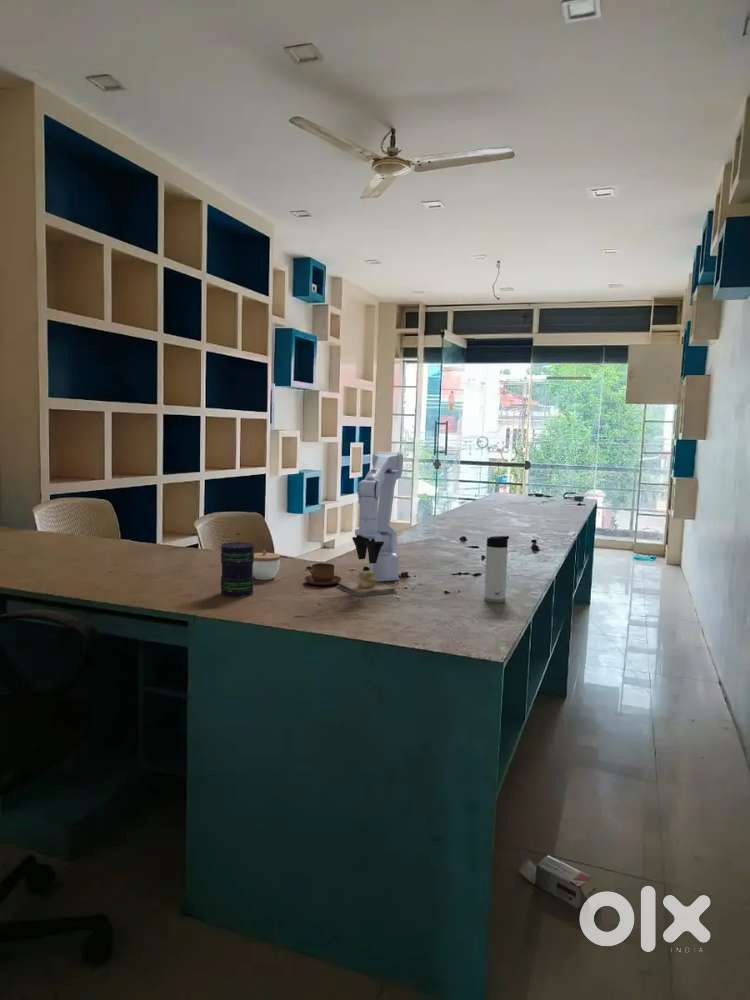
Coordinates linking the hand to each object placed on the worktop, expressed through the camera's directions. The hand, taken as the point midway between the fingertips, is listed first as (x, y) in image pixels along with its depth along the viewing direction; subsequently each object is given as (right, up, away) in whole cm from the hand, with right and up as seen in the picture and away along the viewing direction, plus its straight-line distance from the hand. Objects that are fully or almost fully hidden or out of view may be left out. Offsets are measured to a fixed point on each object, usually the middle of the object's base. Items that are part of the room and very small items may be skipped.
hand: (367, 561), depth 216 cm
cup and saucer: (-15, -9, +9) cm, 19 cm away
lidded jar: (-35, -7, +15) cm, 39 cm away
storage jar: (-39, -9, -9) cm, 41 cm away
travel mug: (+39, -11, -9) cm, 41 cm away
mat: (0, -9, +1) cm, 9 cm away
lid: (0, -9, +1) cm, 9 cm away
